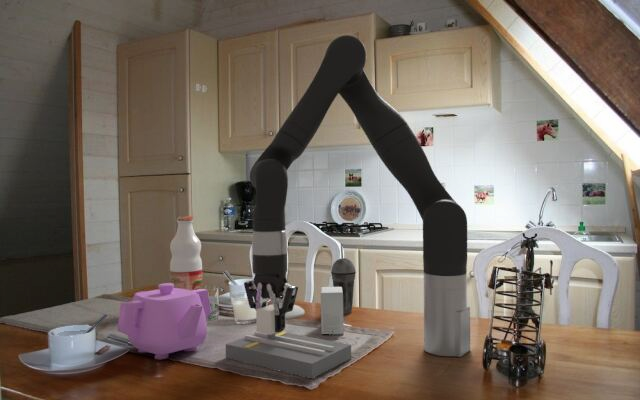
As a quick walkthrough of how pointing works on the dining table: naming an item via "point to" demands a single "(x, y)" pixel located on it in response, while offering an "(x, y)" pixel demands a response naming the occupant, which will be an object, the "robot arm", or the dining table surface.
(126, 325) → the teapot
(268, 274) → the robot arm
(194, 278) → the fruit juice
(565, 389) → the dining table surface
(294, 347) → the fader console
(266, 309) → the fader tab
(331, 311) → the small box
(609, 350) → the dining table surface
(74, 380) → the dining table surface
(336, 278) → the beverage cup
